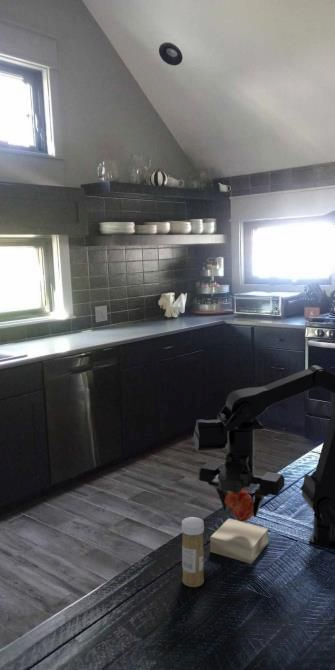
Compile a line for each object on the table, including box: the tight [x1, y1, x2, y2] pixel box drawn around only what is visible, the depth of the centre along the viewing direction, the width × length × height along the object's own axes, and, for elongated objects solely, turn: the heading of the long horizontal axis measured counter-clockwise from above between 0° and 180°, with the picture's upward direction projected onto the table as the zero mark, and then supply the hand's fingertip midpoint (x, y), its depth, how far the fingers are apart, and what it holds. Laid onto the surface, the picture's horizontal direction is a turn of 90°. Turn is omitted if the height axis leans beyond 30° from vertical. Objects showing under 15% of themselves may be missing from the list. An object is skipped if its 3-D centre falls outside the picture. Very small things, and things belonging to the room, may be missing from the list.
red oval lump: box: [221, 488, 255, 522], centre depth 129 cm, size 7×7×10 cm
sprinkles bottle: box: [181, 516, 205, 588], centre depth 117 cm, size 5×5×14 cm
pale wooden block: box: [209, 518, 269, 565], centre depth 131 cm, size 10×10×4 cm
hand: (240, 512), depth 130 cm, fingers closed on red oval lump, 7 cm apart
